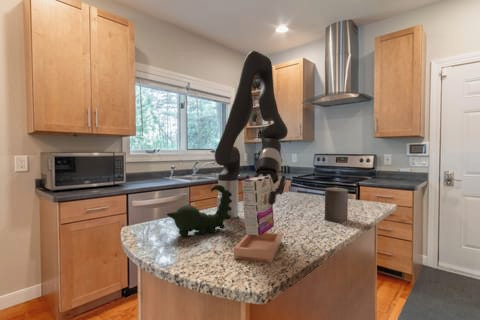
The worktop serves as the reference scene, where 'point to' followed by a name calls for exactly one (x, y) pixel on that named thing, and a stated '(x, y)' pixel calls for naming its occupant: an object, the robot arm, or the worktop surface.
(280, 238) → the terracotta tray
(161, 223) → the worktop surface
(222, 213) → the toy figurine
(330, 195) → the pillar candle
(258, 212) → the candy bar box
